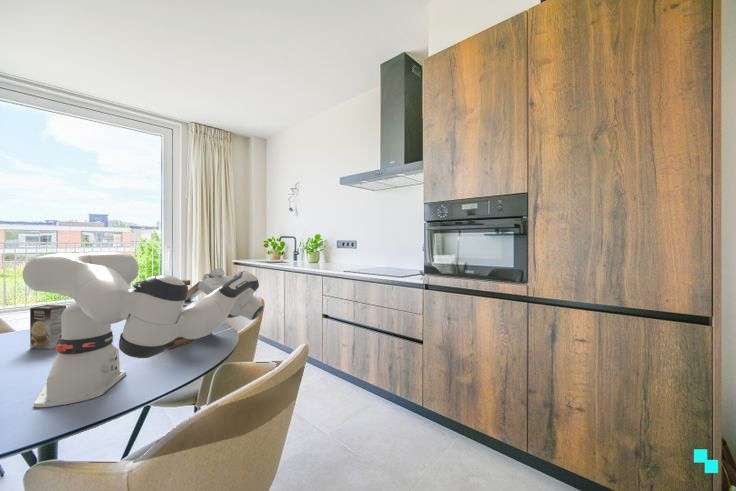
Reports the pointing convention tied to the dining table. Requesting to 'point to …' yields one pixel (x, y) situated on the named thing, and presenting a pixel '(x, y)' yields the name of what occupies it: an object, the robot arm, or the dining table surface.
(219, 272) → the aluminium bar
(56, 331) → the coffee box
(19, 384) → the dining table surface
